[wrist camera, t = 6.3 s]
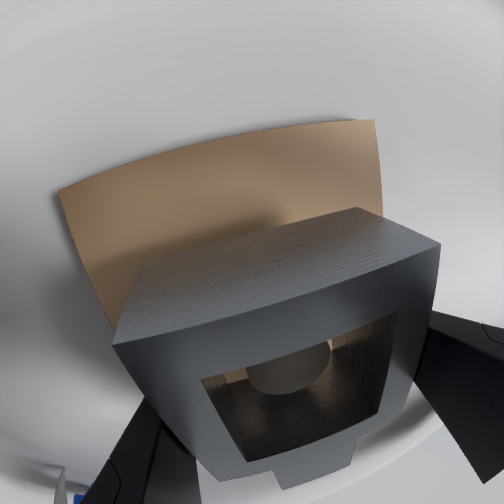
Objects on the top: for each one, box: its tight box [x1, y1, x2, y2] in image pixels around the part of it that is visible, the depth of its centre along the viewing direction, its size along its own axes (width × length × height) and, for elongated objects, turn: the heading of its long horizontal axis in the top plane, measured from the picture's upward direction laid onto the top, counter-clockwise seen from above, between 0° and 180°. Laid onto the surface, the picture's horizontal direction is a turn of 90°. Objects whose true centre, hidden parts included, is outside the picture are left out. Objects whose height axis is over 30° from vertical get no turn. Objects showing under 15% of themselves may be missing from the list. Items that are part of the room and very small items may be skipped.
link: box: [112, 207, 441, 490], centre depth 8 cm, size 10×7×4 cm
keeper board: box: [58, 119, 383, 395], centre depth 10 cm, size 16×12×5 cm
